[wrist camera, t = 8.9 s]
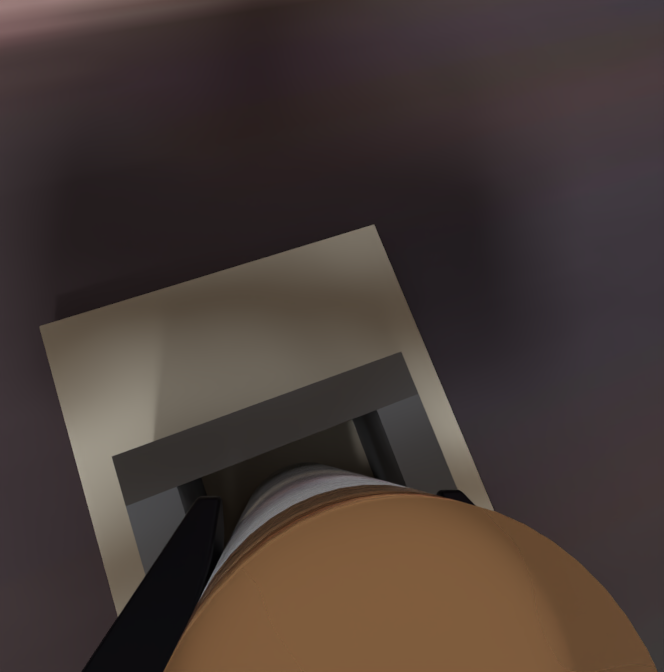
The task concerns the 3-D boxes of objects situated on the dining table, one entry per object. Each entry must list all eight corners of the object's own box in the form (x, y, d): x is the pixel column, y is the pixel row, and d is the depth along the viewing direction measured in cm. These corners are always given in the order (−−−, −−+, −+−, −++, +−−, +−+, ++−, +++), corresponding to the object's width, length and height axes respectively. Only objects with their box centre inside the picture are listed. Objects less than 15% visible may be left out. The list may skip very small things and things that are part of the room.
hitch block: (569, 718, 16) (699, 837, 11) (214, 919, 14) (181, 1178, 9) (369, 235, 19) (401, 162, 14) (52, 333, 17) (-37, 286, 12)
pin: (396, 534, 15) (796, 807, 4) (298, 631, 14) (409, 1433, 3) (314, 436, 16) (433, 391, 4) (213, 523, 15) (-16, 802, 3)
